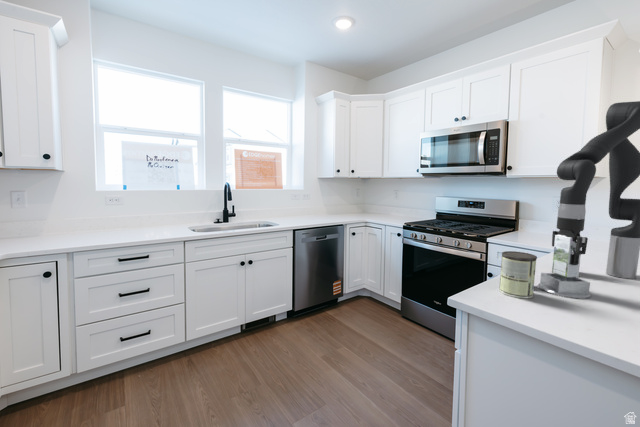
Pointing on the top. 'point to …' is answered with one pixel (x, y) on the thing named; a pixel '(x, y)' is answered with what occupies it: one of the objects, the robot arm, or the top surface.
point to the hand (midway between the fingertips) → (566, 262)
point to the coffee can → (517, 274)
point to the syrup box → (564, 257)
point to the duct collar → (564, 285)
